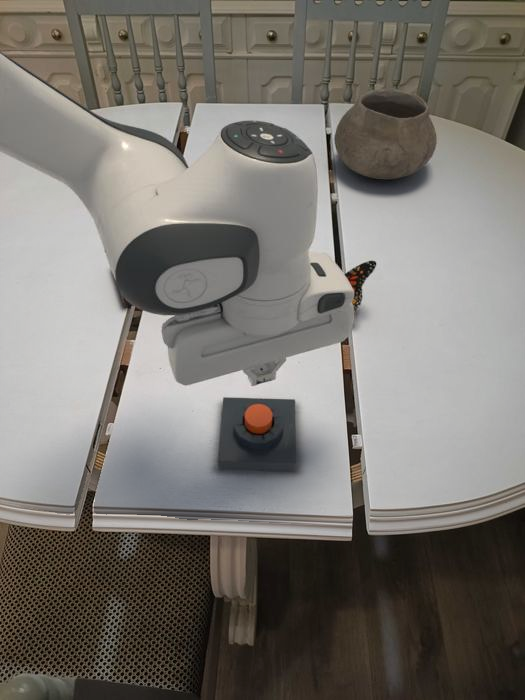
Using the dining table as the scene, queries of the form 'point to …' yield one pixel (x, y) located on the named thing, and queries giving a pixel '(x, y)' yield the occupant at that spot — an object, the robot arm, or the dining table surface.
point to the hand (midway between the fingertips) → (261, 378)
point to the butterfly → (359, 280)
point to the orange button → (258, 418)
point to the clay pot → (386, 134)
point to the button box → (257, 437)
